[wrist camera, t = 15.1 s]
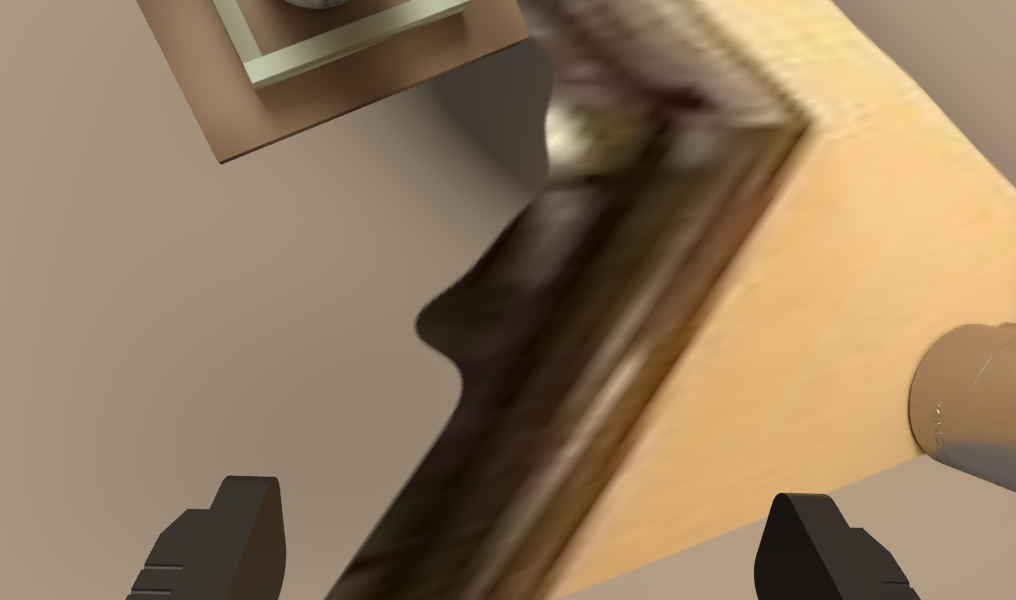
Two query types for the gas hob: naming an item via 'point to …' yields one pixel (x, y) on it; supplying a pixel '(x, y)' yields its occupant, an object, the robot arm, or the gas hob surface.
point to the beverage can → (317, 3)
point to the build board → (314, 58)
